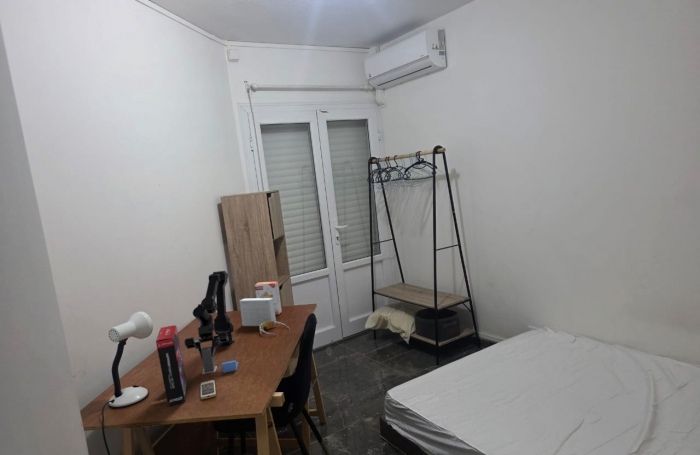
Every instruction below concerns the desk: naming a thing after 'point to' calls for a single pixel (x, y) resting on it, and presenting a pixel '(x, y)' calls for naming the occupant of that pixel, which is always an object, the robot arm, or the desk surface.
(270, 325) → the sunglasses
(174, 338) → the graphics card box
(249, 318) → the skincare box
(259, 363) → the desk surface
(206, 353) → the tall grey square pillar
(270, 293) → the cracker box
